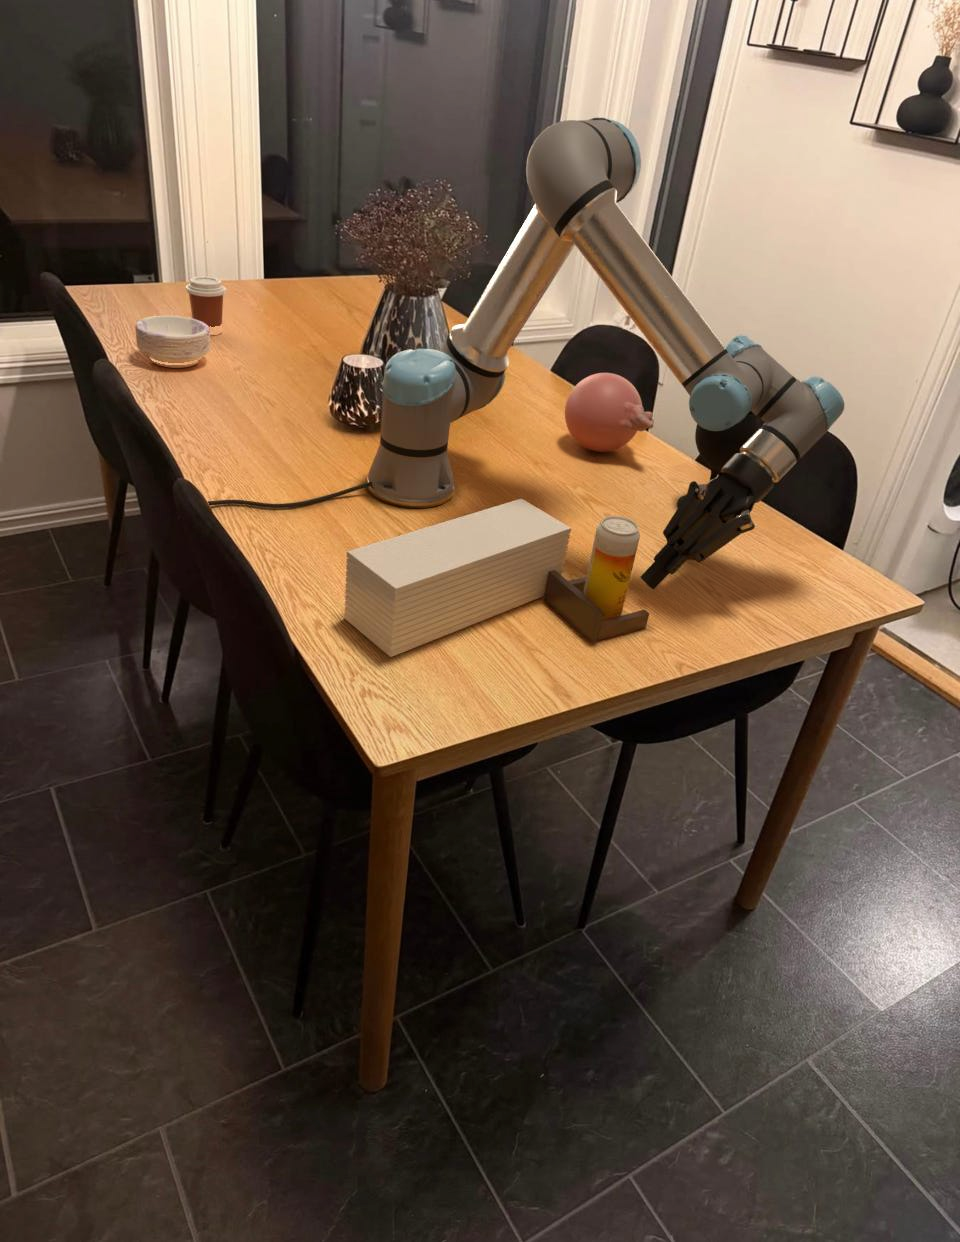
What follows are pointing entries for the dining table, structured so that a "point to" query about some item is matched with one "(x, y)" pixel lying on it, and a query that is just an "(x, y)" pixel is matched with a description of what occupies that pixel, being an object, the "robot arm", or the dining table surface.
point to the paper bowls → (173, 339)
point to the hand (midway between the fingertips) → (646, 583)
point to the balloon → (605, 412)
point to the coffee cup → (206, 299)
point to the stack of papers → (452, 574)
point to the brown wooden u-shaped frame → (587, 610)
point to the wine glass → (723, 443)
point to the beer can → (611, 564)
